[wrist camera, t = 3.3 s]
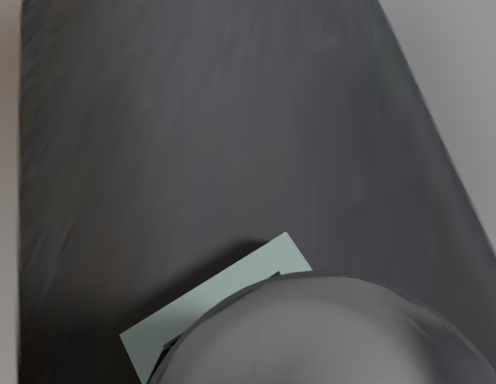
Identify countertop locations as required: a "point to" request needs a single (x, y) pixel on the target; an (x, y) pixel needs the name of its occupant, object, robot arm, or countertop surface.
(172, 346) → the robot arm
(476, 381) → the grey round peg
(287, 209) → the countertop surface
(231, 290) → the socket
